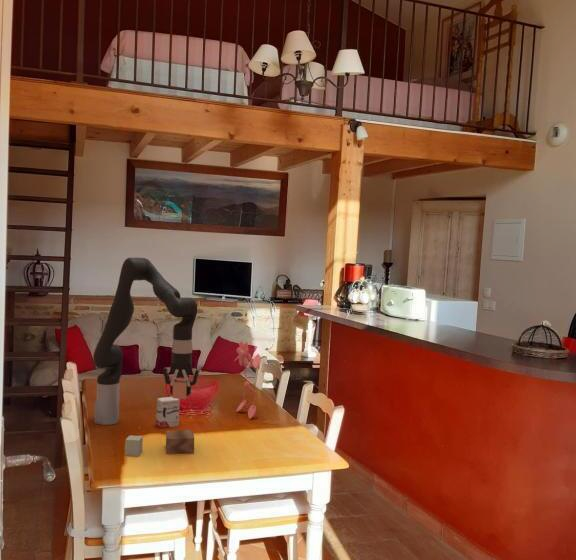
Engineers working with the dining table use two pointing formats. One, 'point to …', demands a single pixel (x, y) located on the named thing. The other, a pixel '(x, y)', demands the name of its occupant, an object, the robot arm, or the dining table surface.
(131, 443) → the sage block
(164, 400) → the ink box
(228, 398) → the dining table surface
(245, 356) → the pink artificial flower
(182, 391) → the terracotta block
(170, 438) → the walnut block
